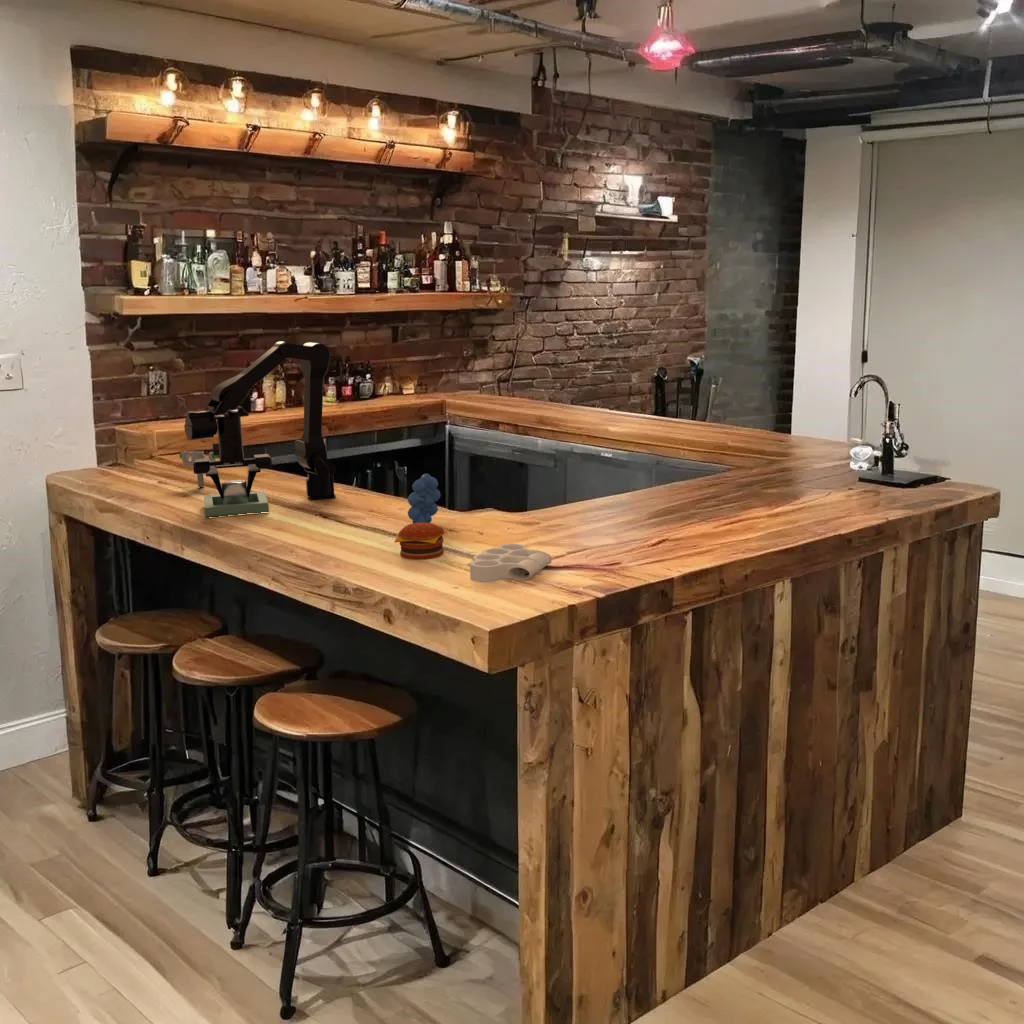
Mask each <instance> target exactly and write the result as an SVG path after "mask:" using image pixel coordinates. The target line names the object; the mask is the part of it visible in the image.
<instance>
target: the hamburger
mask: <svg viewBox="0 0 1024 1024" xmlns="http://www.w3.org/2000/svg"><path fill="white" fill-rule="evenodd" d="M445 534H447V535H448V532H446V531H444V529H443V528H442V527H441V526H439V525H437V524H436V523H432V522H430V523H426V522H420V523H413V522H412V523H410V524H407V525H404V527H403V528H401V530H399V532H398V535H397V537H396V538H395V540H394V542H393V543H399V546H400V551H399V554H400V557H402V558H403V559H408V560H415V561H420V560H421V561H424V560H425V561H426V560H429V559H430V560H431V559H434V558H435V559H436V558H440V557H441V556H443V555H444V553H445V548H444V546H443V544H444V537H443V536H444V535H445Z"/></svg>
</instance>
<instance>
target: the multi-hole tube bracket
mask: <svg viewBox="0 0 1024 1024" xmlns="http://www.w3.org/2000/svg"><path fill="white" fill-rule="evenodd" d="M552 561H553V558H552V555H551V554H550V553H547V552H545V551H542V550H538V549H529V548H527V547H526V545H524V544H520V543H503V544H499V545H498V546H497V547H491V548H486V549H483V550H482V551H481V552H480V553H478V554H475V555H474V556H473V558H472V561H471V562H468V563H466V564H465V565H466V566H468V567H469V574H470V575H469V577H470V580H471V581H474V582H478V583H493V582H498V581H501V580H515V581H527V580H528V579H530V578H532V577H533V576H534V575H536V574H537V573H538V572H540V571H541V570H543V569H544V568H545V567H547V565H551V563H552ZM528 573H529V574H528Z"/></svg>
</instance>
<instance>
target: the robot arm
mask: <svg viewBox="0 0 1024 1024" xmlns="http://www.w3.org/2000/svg"><path fill="white" fill-rule="evenodd" d="M288 359H294V360H299V365H300V369H301V371H302V374H303V376H304V377H303V378H304V391H303V394H304V396H303V397H304V398H303V401H304V402H303V403H304V404H303V431H302V432H303V434H302V436H301V438H300V440H299V439H295V441H294V446H295V452H294V454H293V455H294V456H295V457H296V461H297V462H298V464H299V465H300V466H301V467H303V469H304V472H305V473H307V478H306V479H305V488H306V489H305V490H306V496H307V497H310V498H309V499H310V500H321V499H320V498H323V499H333V498H336V494H335V485H334V484H335V483H334V475H336V473H337V465H336V464H335V463H334V462H332V461H331V460H330V459H329V458H328V452H327V446H326V443H325V441H324V437H323V403H324V402H323V400H324V399H323V398H324V378H325V376H326V373H327V372H328V369H329V364H330V359H331V351H330V349H329V348H328V347H327V345H325V344H323V343H319V342H305V343H304V344H303V345H302V344H295V343H290V342H287V341H280V340H279V341H277V342H275V343H274V345H273V346H272V347H271V348H270V349H267V351H266V352H265V353H263V354H262V355H261V356H260V357H259V358H257V359H256V360H254V361H253V362H252V363H251V364H250V365H249V366H247V368H245V369H244V370H243V371H241V372H240V373H239V374H237V375H235V376H233V377H230V378H228V379H226V380H224V381H222V382H220V383H219V384H217V385H216V386H215V387H214V388H213V389H212V390H211V398H210V400H209V402H208V403H207V405H206V407H205V408H204V410H203V411H202V410H201V411H187V412H186V417H185V419H184V420H185V422H184V425H183V426H184V427H183V428H184V434H185V436H186V438H187V440H188V441H195V440H203V439H204V440H205V439H212V438H214V436H215V435H217V439H218V442H215V443H214V442H213V443H212V452H213V455H214V457H217V458H218V457H219V460H217V461H211V462H210V460H209V458H205V459H195V460H194V461H193V466H192V469H193V474H195V475H197V474H201V473H203V474H205V476H206V477H210V478H211V480H212V482H213V484H214V485H215V487H216V489H217V492H218V493H219V494H218V495H220V496H221V499H223V492H222V482H221V480H220V475H219V470H218V469H229V468H243V467H246V468H247V472H246V475H247V478H246V483H247V497H249V495H250V492H252V486H253V483H254V481H255V478H256V477H257V476H256V475H257V473H261V470H262V469H265V470H266V469H272V468H273V464H272V463H273V461H272V457H271V456H270V455H269V454H268V453H263V454H254V455H253V458H245V453H244V444H243V443H244V442H243V431H242V420H241V419H242V418H243V417H249V416H250V414H249V412H247V411H246V410H245V409H244V408H243V406H240V405H241V404H242V403H243V402H244V401H245V399H246V398H248V395H249V393H250V391H251V390H252V389H253V387H254V386H255V385H256V384H258V383H259V382H260V381H262V380H263V379H265V378H266V376H268V374H270V373H271V372H273V371H274V370H275V369H276V368H277V367H278V366H279V365H281V364H282V363H284V361H285V360H288Z"/></svg>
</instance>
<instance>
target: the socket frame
mask: <svg viewBox="0 0 1024 1024" xmlns="http://www.w3.org/2000/svg"><path fill="white" fill-rule="evenodd" d="M203 502H204V503H203V504H204V512H205V513H204V515H205V519H206V518H208V519H210V518H209V517H219V516H228V515H238V514H247V513H261V512H269V513H270V509H269V507H270V506H269V501H268V499H267V496H266V493H265V491H264V490H262V491H250V495H249V497H248V502H246V503H240V504H228V505H227V504H224V503H223V499H221V496H220V494H215V495H204V496H203ZM219 518H220V517H219Z"/></svg>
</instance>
